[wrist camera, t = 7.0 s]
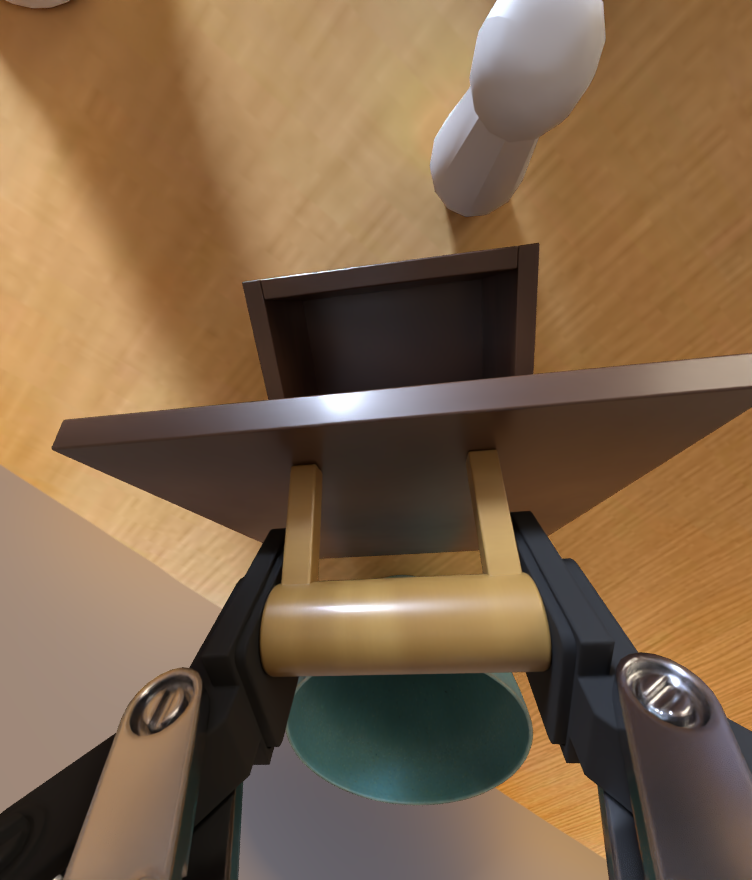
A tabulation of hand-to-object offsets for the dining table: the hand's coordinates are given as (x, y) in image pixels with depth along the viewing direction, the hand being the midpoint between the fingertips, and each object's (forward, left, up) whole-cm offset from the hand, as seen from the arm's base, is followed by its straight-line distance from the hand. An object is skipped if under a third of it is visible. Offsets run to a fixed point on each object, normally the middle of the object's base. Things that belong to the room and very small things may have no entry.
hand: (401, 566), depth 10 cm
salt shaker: (-15, +2, -21) cm, 26 cm away
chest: (0, 0, -21) cm, 21 cm away
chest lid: (+1, 0, -5) cm, 5 cm away
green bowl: (+23, +4, -21) cm, 31 cm away
